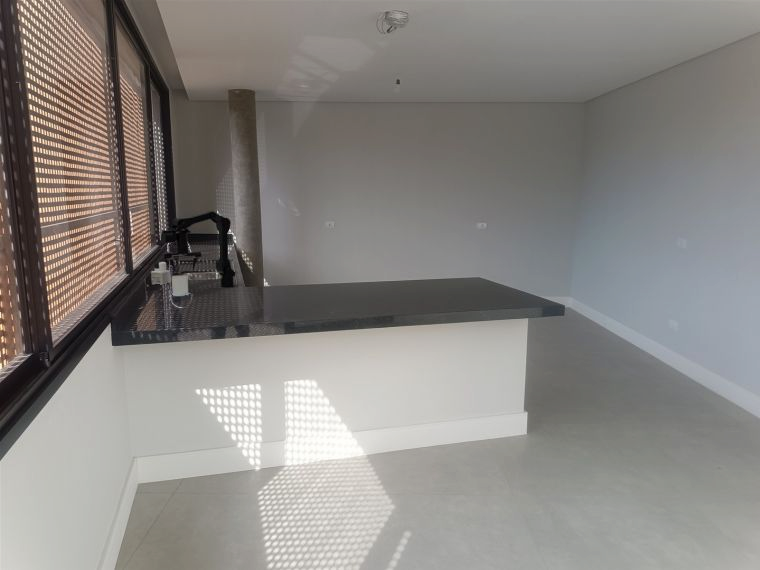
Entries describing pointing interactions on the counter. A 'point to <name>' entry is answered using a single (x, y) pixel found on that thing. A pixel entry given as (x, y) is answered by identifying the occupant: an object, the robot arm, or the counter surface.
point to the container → (160, 274)
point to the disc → (181, 294)
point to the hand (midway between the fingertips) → (184, 270)
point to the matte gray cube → (180, 284)
